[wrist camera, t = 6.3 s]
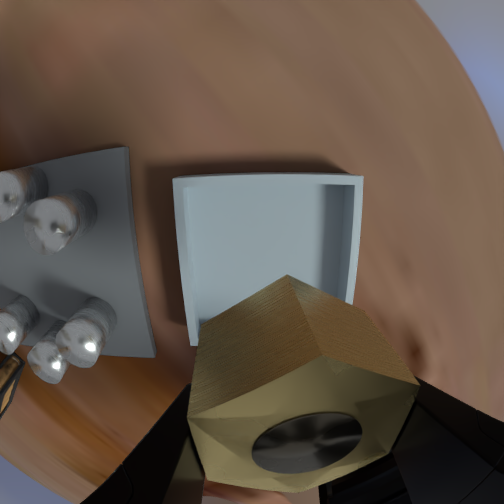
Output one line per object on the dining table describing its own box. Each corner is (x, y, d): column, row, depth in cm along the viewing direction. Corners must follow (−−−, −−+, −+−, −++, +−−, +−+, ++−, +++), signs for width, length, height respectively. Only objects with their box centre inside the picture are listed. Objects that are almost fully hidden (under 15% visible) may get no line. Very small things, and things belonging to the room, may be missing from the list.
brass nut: (345, 404, 10) (375, 476, 6) (216, 418, 10) (215, 499, 6) (369, 267, 8) (440, 334, 5) (195, 279, 8) (171, 365, 4)
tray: (338, 319, 20) (347, 335, 18) (193, 328, 19) (190, 345, 17) (349, 173, 17) (363, 176, 15) (179, 176, 16) (172, 178, 14)
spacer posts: (127, 355, 19) (111, 393, 15) (28, 345, 18) (6, 372, 14) (92, 153, 14) (56, 155, 11) (-12, 178, 14) (-49, 187, 10)
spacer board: (156, 351, 20) (154, 357, 19) (18, 338, 19) (14, 343, 18) (128, 147, 15) (124, 146, 14) (-20, 180, 14) (-27, 182, 14)
